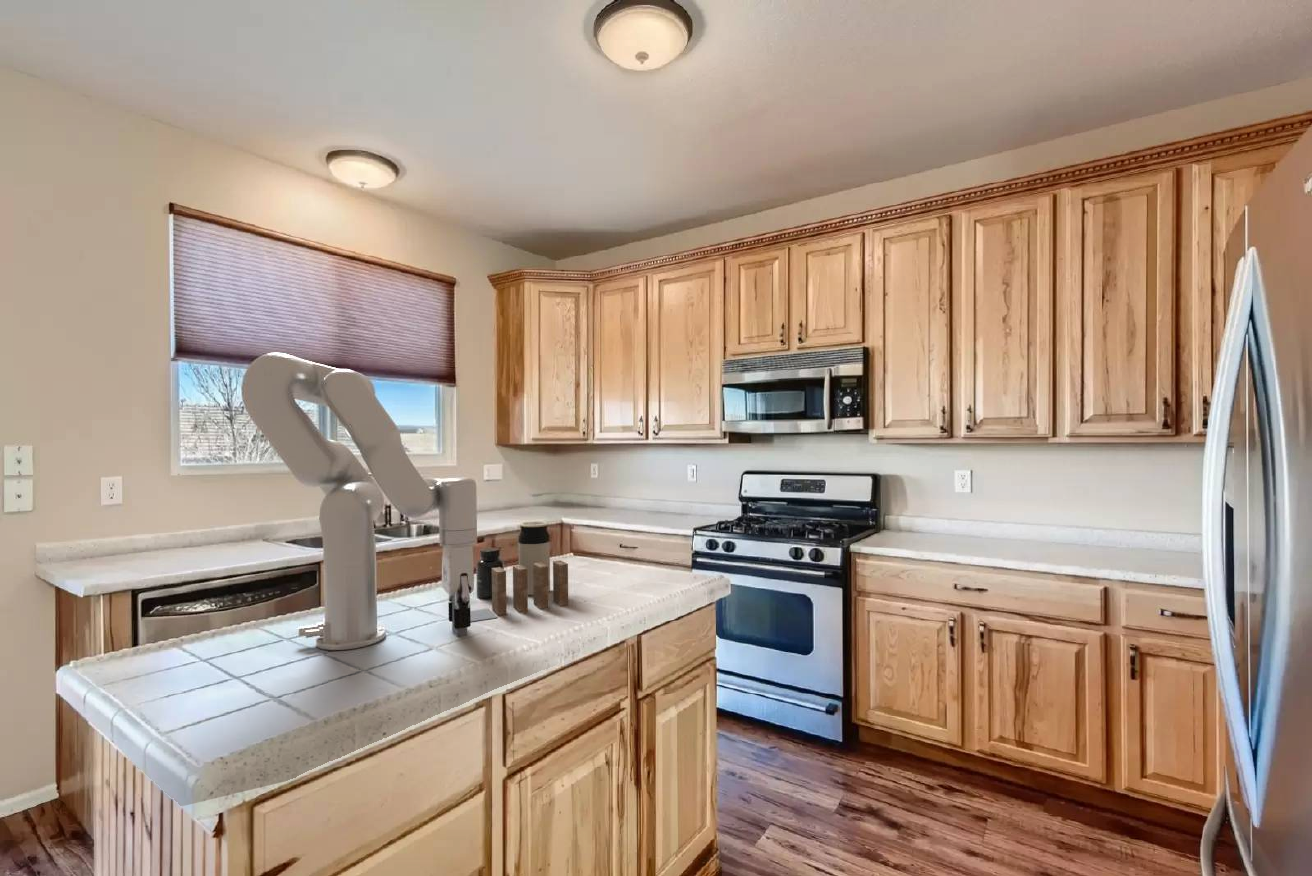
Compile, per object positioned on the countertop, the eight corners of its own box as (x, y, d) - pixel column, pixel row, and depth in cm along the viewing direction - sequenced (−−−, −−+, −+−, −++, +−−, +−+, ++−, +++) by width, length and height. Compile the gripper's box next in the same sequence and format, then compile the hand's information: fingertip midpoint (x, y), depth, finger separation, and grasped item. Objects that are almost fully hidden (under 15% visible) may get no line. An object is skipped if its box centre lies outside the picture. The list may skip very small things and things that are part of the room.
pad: (465, 622, 137) (465, 622, 137) (458, 613, 144) (458, 612, 144) (497, 618, 141) (497, 617, 141) (488, 609, 148) (488, 608, 148)
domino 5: (560, 606, 150) (560, 564, 149) (553, 601, 154) (552, 561, 154) (568, 605, 150) (567, 563, 150) (561, 600, 155) (560, 560, 155)
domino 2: (497, 616, 142) (497, 572, 142) (492, 610, 147) (491, 568, 147) (506, 614, 143) (505, 571, 143) (500, 609, 148) (500, 567, 148)
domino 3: (519, 612, 145) (518, 569, 145) (513, 607, 149) (512, 565, 149) (527, 611, 146) (527, 568, 146) (521, 606, 150) (520, 564, 150)
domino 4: (540, 609, 147) (539, 567, 147) (533, 604, 151) (533, 563, 151) (548, 608, 148) (548, 566, 148) (541, 603, 152) (541, 562, 152)
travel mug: (542, 596, 159) (541, 525, 158) (513, 595, 161) (512, 525, 160) (554, 589, 166) (554, 521, 166) (527, 587, 168) (526, 520, 168)
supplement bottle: (471, 598, 158) (470, 551, 158) (486, 591, 164) (485, 546, 164) (495, 600, 156) (494, 552, 156) (509, 593, 162) (508, 547, 162)
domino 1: (457, 636, 128) (456, 587, 128) (452, 629, 133) (451, 582, 132) (467, 634, 129) (466, 586, 129) (461, 628, 134) (461, 581, 133)
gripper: (432, 533, 136) (433, 616, 136) (447, 545, 121) (448, 638, 122) (467, 530, 140) (468, 611, 140) (486, 541, 125) (487, 632, 125)
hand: (459, 623), depth 131 cm, fingers closed on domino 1, 4 cm apart
